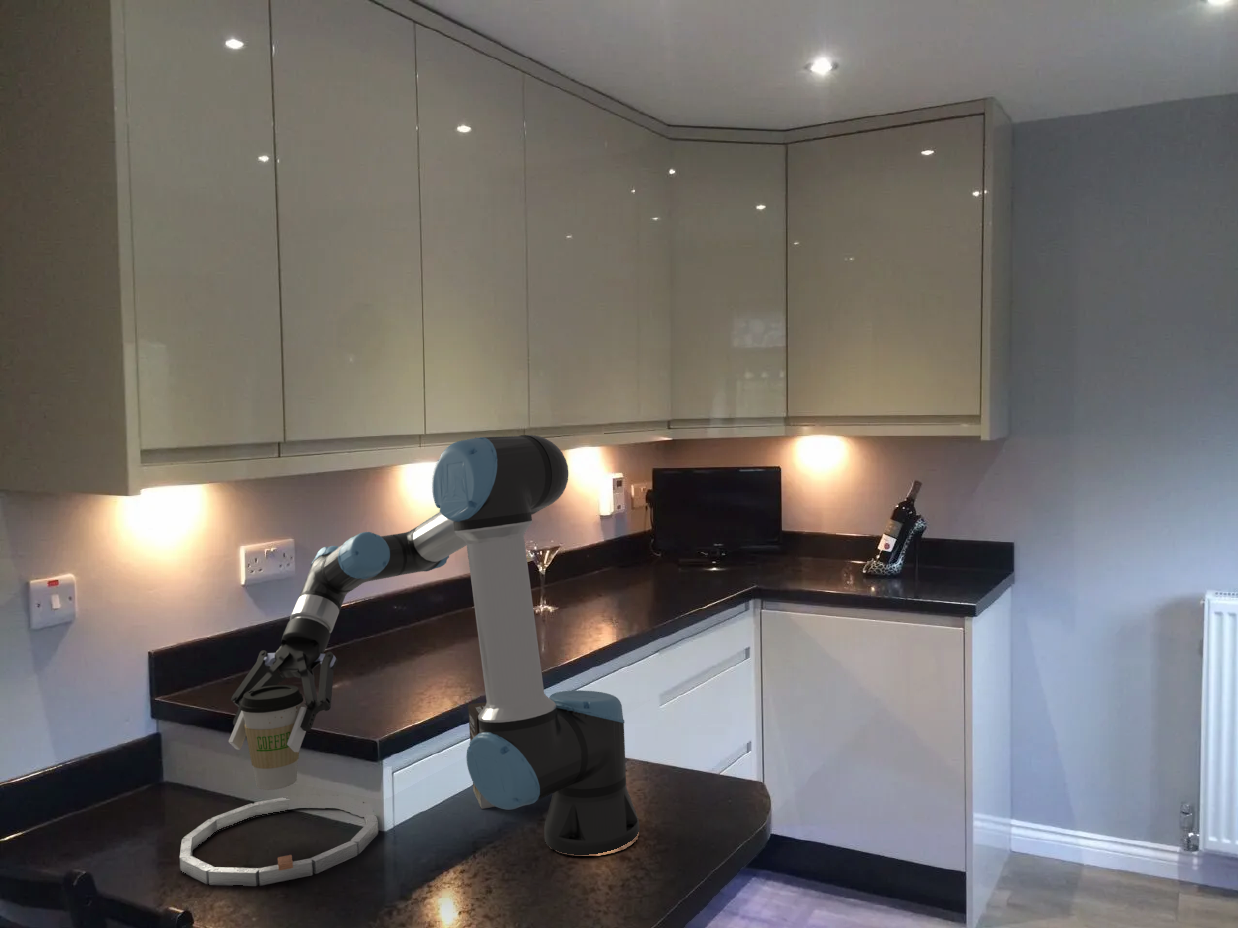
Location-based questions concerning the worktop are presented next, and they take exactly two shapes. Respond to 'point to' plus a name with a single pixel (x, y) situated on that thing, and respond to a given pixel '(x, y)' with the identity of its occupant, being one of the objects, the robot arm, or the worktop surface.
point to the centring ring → (285, 864)
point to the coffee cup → (272, 733)
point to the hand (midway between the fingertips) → (263, 746)
